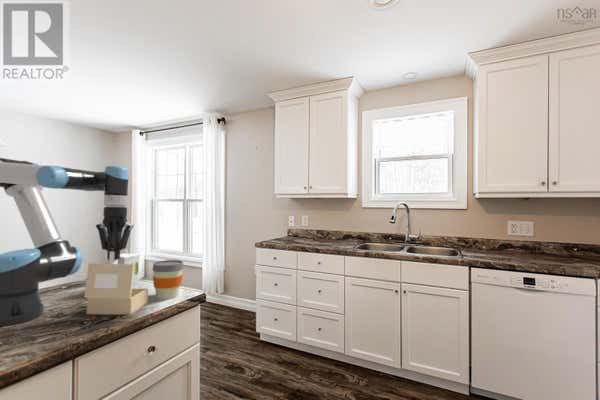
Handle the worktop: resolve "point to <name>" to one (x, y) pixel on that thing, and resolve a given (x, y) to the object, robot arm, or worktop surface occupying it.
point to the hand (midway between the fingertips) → (113, 267)
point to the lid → (109, 281)
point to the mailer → (118, 303)
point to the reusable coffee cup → (167, 278)
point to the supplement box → (131, 260)
